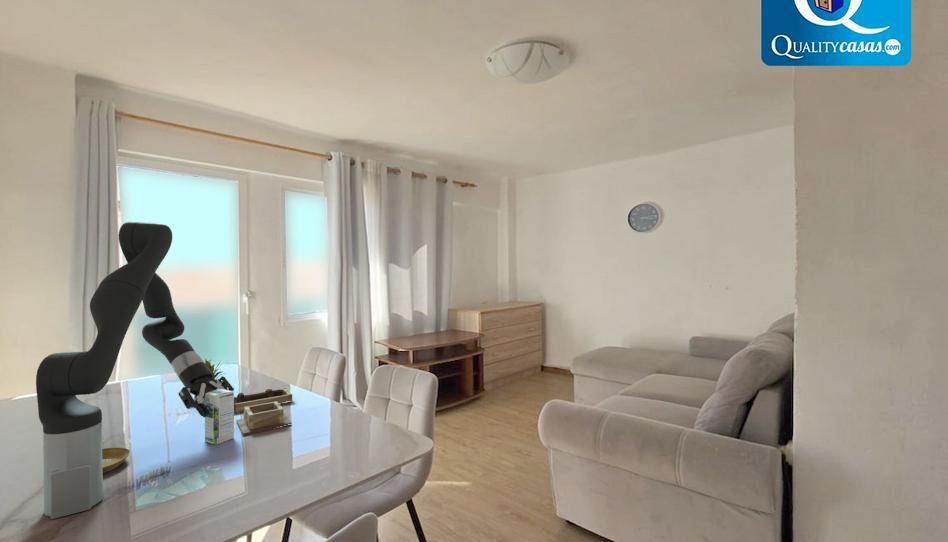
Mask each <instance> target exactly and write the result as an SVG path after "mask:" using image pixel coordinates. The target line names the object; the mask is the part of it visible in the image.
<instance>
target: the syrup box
mask: <svg viewBox="0 0 948 542" xmlns="http://www.w3.org/2000/svg"><path fill="white" fill-rule="evenodd" d="M234 397H235V390H233V391H229V389H228V390H224V389H219V390H214V391H210V392H208V393H205V400H204V404H205V406H206V407H207V409H208V410H209V412H210V413H209V415H208V416H207V417H205V418H204V442H205V443H209V444H212V445H216V446H217V445H219V444H221V443H225V442H227V441H230V440H233V439H234V438H235V413H234Z"/></svg>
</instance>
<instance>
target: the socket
mask: <svg viewBox="0 0 948 542" xmlns="http://www.w3.org/2000/svg"><path fill="white" fill-rule="evenodd" d="M292 423H293V422H291V420H290V419H289V418H288V416H286V415H285V413H284V408H283V407H282V404H281V405H280V404H279V403H278V402H277V401H275V402H269V403H264V404H258V405H253V406H247V407H244V411H243V418H240V419H236V424H237V426H238V429H239V431H240V432H241V434H242V436H243V437H244V436H248V435H253V434H254V435H255V434H258V433H262V432H268V431H271V429H273V430H275V429H274V428H277V427H280V426H284V425H288V424H292ZM277 429H278V428H277Z"/></svg>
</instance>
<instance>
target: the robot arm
mask: <svg viewBox="0 0 948 542" xmlns="http://www.w3.org/2000/svg"><path fill="white" fill-rule="evenodd" d="M118 243H119V246H120V250H121V252H122V254H123V257H124V258H125V260H126V264H124V265H122V266H120V267H119V268H117V269H115V270H113V272H111V273H109V274H108V275H107V276H105V277H104V278H103V279H102V280H101V281H100V283H99V285H98V287H97V289H96V290H95V292H94V293H93V295H92V296H91V299H90V302H89V309H90V315H91V316H92V321H93V322H94V324H95V327H96V331H97V335H96V338H95V340H94V342H93V344H92V346H91V347H90V349H89V350H87V351H69V352H66V351H64V352H55V353H54V352H53V353H51V354H49V355H46V357H44V358H43V360H42V361H41V362H40V363H39V366H38V367H37V370H36V375H35V376H36V377H35V389H36V399H37V408H38V409H37V410H38V411H37V412H38V414H37V415H38V419H39V421H40V423H41V425H42V443H43V445H42V447H43V448H42V451H43V452H42V453H43V454H42V455H43V456H42V457H43V458H42V459H43V460H42V461H43V464H42V465H43V507H44V508H43V512H44V516H45V517H49V518H50V519H49V520H55V519H58V518H63V517H65V516H69V515H73V514H77V513H81V512H84V511H89V510H91V509H92V508H93V506H95V505H97V504H99V503H100V502H101V500H103V497H104V477H103V475H104V474H103V467H102V449H103V413H102V409H101V408H100V407H98V406H95V405H92V404H89V403H85V402H84V401H82V400H81V399H79V398H78V397H77V396H81V395H82V396H83V395H93V394H96V393H98V392H101V391H102V390H103V389H104V387H106V386H107V384H108V382H109V380H110V379H111V376H112V373H113V371H114V368H115V366H116V362H117V359H118V356H119V354H120V350H121V348H122V345H123V342H124V340H125V337H126V335H127V331H128V330H129V328H130V326H131V323H132V321H133V319H134V317H135V315H136V313H137V312H138V309H139V308H140V306H141V305H142V304H143V309H144V313H145V315H146V316H147V317H148V318H149V319H158V320H155V321H153V322H150V323H147V324H146V325H144V326H143V328H142V331H141V335H142V337H143V339H144V340H145V342H146V343H147V344H148V345H150V346H151V347H152V348H154V349H156V350H157V351H158V352H159V353H161V354H162V355H163V356H164V357H165V358H166V360H167V361H168V363H169V364H170V366H171V367H172V369H173V372H174V373H175V375H176V376H177V377H178V379H179V380H180V381H181V383H182V385H183V387H182V388H181V389H180V391H178V393H177V394H178V396H179V398H180V399H181V401H182V403H183V405H184V407H185V408H186V409H192V408H193V409H196V411H197V413H198V414H199V415H200V416H201V417H202V418H204V419H205V417H207V416H208V415H209V413H210V412H209V410H208V409H207V407H206V406H205V402H203V400H202V399H203V398H205V393H208V392H210V391H214V390H217V389H218V390H219V389H224V390H229V391H235V388H234V387H233V386H232V384H231V383H230V382H229V380H228V379H227V378H226V377H225V376H223V375H221V377H220V378H217V380H216V378H215V379H214V378H213V377H212V373H211V371H210V370H209V368H208V367H207V365H206V364H205V360H204V359H203V358H202V357H201V356H200V355H199V354H198V353H197V352H196V351H195V349H194V348H193V346H192V345H191V343H190V342H189V341H188V340H187V339H185V338H179V337H181V336H182V335H183V334H184V332H185V324H184V323H183V321H182V319H181V318H180V317H179V315H178V313H177V312H176V310H175V307H174V304H173V298H172V295H171V294H172V293H171V290H170V287H169V286H168V284H167V283H166V281H164V279H162V278H161V276H160V275H159V274H158V273H156V271H157V270H158V269H159V267H160V265H161V264H162V262H163V261H164V259H165V258H166V256H167V254H168V252H169V251H170V248H171V246H172V243H173V231H172V229H171V228H170V227H169V226H168V225H166V224H164V223H160V222H159V223H158V222H146V221H145V222H144V221H143V222H142V221H126V222H124V223H123V224H122V225H121V226H120V228H119V231H118ZM141 303H142V304H141ZM176 338H179V339H176ZM192 395H194V397H193V396H192ZM234 405H235V401H234Z"/></svg>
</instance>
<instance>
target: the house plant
mask: <svg viewBox="0 0 948 542" xmlns="http://www.w3.org/2000/svg"><path fill="white" fill-rule="evenodd" d="M211 361H212V360H207V358H205V359H204V363H205V364H206V365H207V367H208V368H209V370H210V371H211V373H212V377H213V378H214V379H215V380H217V379H219V377H220V376H223V375H226V373H224V372H223V373H222V371H219V370H221V368H219V365H220V364H221V362H222V360H220V361H219V362H218V363H217V366H216V367H215V365H216V364H211ZM228 361H229V360H226V361H224V363H226V362H228ZM221 373H222V374H221ZM219 374H220V375H219ZM217 390H218V389H217ZM203 400H204V401H205V398H203V399H202V401H203Z"/></svg>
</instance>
